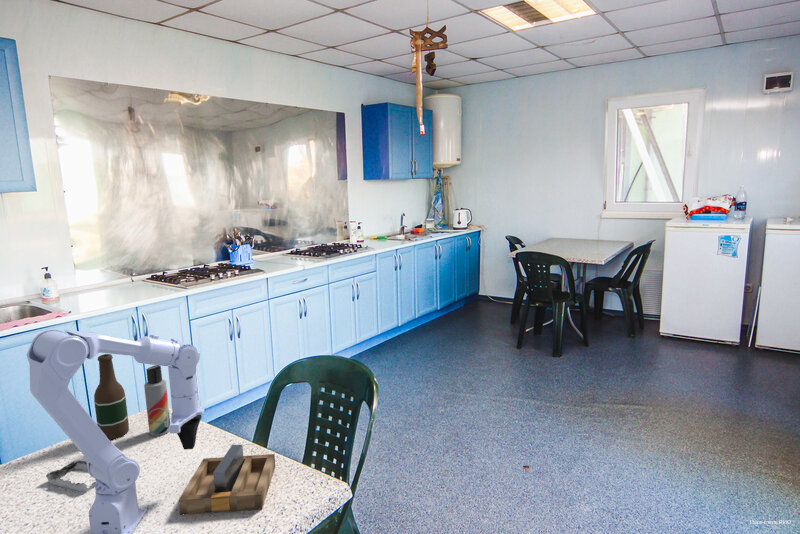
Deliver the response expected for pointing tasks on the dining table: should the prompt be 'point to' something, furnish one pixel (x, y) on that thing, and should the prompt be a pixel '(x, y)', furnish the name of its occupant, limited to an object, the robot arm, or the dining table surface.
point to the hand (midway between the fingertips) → (189, 447)
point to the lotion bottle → (157, 402)
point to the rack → (243, 495)
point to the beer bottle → (110, 401)
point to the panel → (228, 469)
